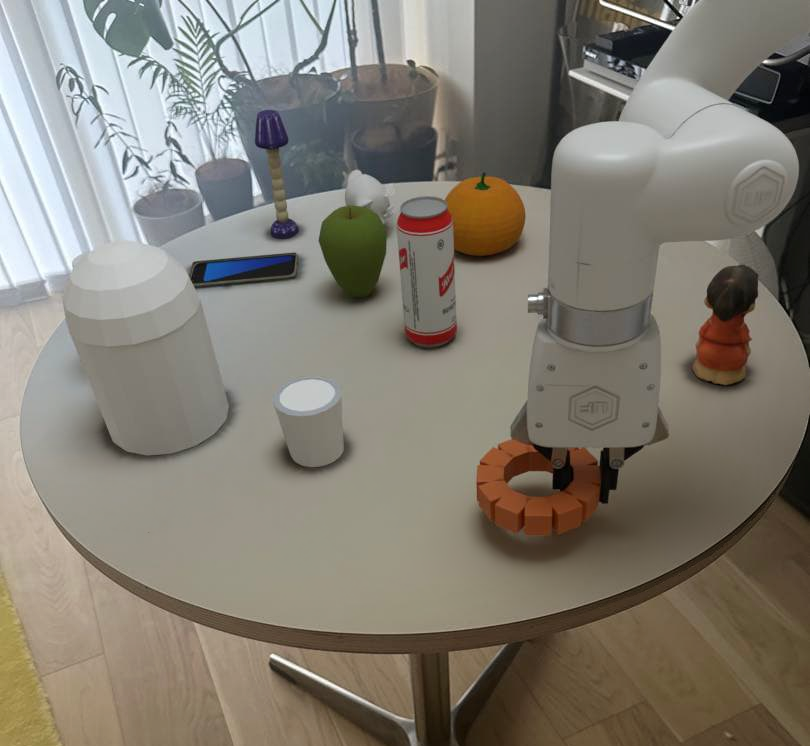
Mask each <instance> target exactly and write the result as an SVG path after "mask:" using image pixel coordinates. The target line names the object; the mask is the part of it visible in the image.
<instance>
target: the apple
mask: <svg viewBox="0 0 810 746" xmlns="http://www.w3.org/2000/svg"><path fill="white" fill-rule="evenodd" d="M387 238H388V231H387V229H386V227H385V224H384V225H383V223H382V220H381V219H380V217H379V216H378V215H377V214H376V213H375V212H373V211H372V210H370V209H368V208H365V207H360V206H346V205H345V206H340V207H338V208H337V209H334V210H333V211H332V212H331V213H329V215H327V216H326V217H325V219H323V220H322V222H321V226H320V230H319V234H318V244H319V247H320V249H321V252H322V255H323V259H324V262H325V264H326V266H327V268H328V270H329V271H330V273H331V276H332V277H333V279H334V282H335V283H336V285H337V286H338V287H339V288H340V289H341V290H343V291H344V292H345V293H346V294H347V295H348V296H351V297H352V298H353V297H354V298H366V297H368V296H369V295H371V294H372V293H373V290H374V289H375V287H376V285H377V284H378V282H379V280H380V276H381V273H382V270H383V266H384V263H385V258H386V255H387V244H388V243H387Z"/></svg>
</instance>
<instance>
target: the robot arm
mask: <svg viewBox="0 0 810 746" xmlns="http://www.w3.org/2000/svg"><path fill="white" fill-rule="evenodd" d="M807 34H810V0H698V1H697V2H695V3H694V4H693V5H692V7H691V8H689V10H688V11H687V12H686V13H685V15H683V17H682V18H681V19H680V20H679V22H678V23H677V24H676V25H675V27H674V28H673V29H672V31H671V32H670V34H669V35H668V37H667V38H666V40H665V41H664V42H663V44H662V45H661V47H660V48H659V50H658V51H657V52H656V54H655V56H654V57H653V59H652V60H651V62H650V63H649V65H648V66H647V68H646V69H645V71H644V72H643V74H642V75H641V77H640V78H639V80H638V81H637V83H636V85H635V86H634V87H633V89H632V91H631V92H630V95H629V97H628V99H627V101H626V103H625V104H624V106H623V109H622V111H621V113H620V116H619V117H618V118H619V119H618V121H617V120H613V121H601V122H600V121H599V122H595V123H589V124H586V125H583V126H579V127H577V128H574V129H573V130H571V131H569V132H568V133H567V134H566V135H564V137H562V139H561V140H560V141H559V143H558V144H557V146H556V147H555V150H554V152H553V156H552V163H551V178H550V179H551V180H550V205H549V206H550V209H549V210H550V211H549V237H548V238H549V239H548V241H549V242H548V269H547V271H548V272H547V273H548V274H547V287H543V291H542V292H541V291H540V292H539V291H538V292H537V294H536V293H535V294H534V293H533V294H527V314H537V316H539V315H540V316H541V317H540V318H539V320H538V323H537V327H536V330H535V335H534V339H533V344H532V349H531V356H530V362H529V371H528V382H527V399H526V401H525V402H524V404H523V406H522V407H521V408H520V410H519V412H518V413H517V415H516V416H515V419H514V420H513V421H512V422H511V425H510V438H511V439H514V440H516V441H519V442H521V443H524V444H526V445H531V446H533V447H534V449H535V450H537V451H538V452H539V453H540V454H542V455H543V456H544V457H546V458H547V459H548V460H549V461H551V466H552V467H553V474H552V478H551V479H552V480H551V481H552V485H551V486H552V491H553V490H554V491H556V490H559V492H562V491H564V490H565V489H566V488H567V487H568V486H569V485H570V474H571V466H570V450H568V448H579V449H580V448H586V449H589V448H590V449H591V448H593V449H595V448H596V449H597V448H598V449H599V448H602V449H601V450H600V455H599V465H600V472H601V490H600V500H599V503H601V504H602V505H609V498H610V497H609V496H610V491H617V489H618V480H619V471H620V469H622V468H623V467H624V466H625V461H627V460H628V459H629V458H631V457H633V456H634V455H635V454H637V453H638V452H640V451H641V450H643V449H644V447H646V446H651V445H653V444H657V443H658V442H661V441H664V440H666V439H668V438H669V436H670V433H669V432H670V431H669V426H668V423H667V420H666V418H665V417H664V415H663V413H662V411H661V408H660V407H659V403H660V389H661V376H662V374H661V373H662V343H661V333H660V332H661V331H660V327H659V325H658V323H657V319H656V318H655V316H654V314H652V313H651V311H652V304H653V298H654V289H655V282H656V274H657V267H658V260H659V253H660V246H661V245H662V244H666V243H681V242H684V243H685V242H711V241H713V242H714V241H725V240H731V239H736V238H739V237H743V236H746V235H749V234H751V233H754V232H756V231H757V230H760V229H761V228H763V227H765V226H766V225H768V224H770V223H771V222H773V221H774V220H775V218H777V217H778V216H779V215H780V214H781V213H782V211H783V210H784V209H785V208H786V206H788V204H789V203H790V201H791V199H792V198H793V196H794V193H795V192H796V191H795V190H796V188H797V184H798V181H799V174H800V164H799V158H798V154H797V152H796V149H795V147H794V145H793V143H792V142H791V141H790V140H789V138H788V137H787V136H786V135H785V134H784V132H782V130H780V129H779V128H777V127H776V126H775V125H773V124H772V123H770V122H769V121H766V120H765V119H763V118H760V116H757V115H755V114H754V113H751V112H749V111H747V110H745V109H743V108H742V107H740V106H738V105H737V104H735V103H733V102H731V101H729V100H730V99H731V97H732V96H733V95H734V93H735V92H736V91H737V90H738V88H739V87H740V86H741V84H742V83H744V82H745V80H746V79H747V78H748V77H749V76H750V75H751V74H752V73H753V72H754V71H755V70H756V69H757V68H758V67H759V66H760V65H761V64H762V63H763V62H765V61H766V60H767V59H768V58H769V57H770V56H772V55H773V54H775V53H776V52H778V51H780V49H782V48H783V47H785V46H787V45H788V44H790V43H792V42H794V41H795V40H797V39H799V38H801V37H803V36H805V35H807Z"/></svg>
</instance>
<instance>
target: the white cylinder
mask: <svg viewBox="0 0 810 746" xmlns="http://www.w3.org/2000/svg"><path fill="white" fill-rule="evenodd" d="M272 397H273V398H272V403H273V407H274V410H275V413H276V416H277V420H278V422H279V425H280V428H281V431H282V434H283V437H284V440H285V442H286V443H285V444H286V447H287V449H288V452H289V455H290V457H291V459H292V460H293V461H294V462H295V463H296V464H298V465H300V466H302V467H306V468H317V467H319V468H320V467H324V466H328V465H331V464H333V463H334V462H336V461H337V460H338V459H340V458H341V456H342V455H343V453H344V451H345V447H344V446H345V445H344V424H343V423H344V420H343V398H342V397H343V396H342V387H341V386H340V384H338V382H337V381H336V380H335V379H331V378H330V377H327V376H320V375H309V376H308V375H307V376H299V377H297V378H294V379H290V380H288V381H287V382H285V383H284V384H282V385H280V386H279V387H278V388H277V389H276V391H275V392H274V393H273V396H272Z"/></svg>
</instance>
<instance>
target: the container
mask: <svg viewBox="0 0 810 746" xmlns="http://www.w3.org/2000/svg"><path fill="white" fill-rule="evenodd" d="M90 251H91V252H89V251H88V252H89V253H88V254H87V255H86V256H85V257H84V258H83V259H82V260H80V261H79V262H78V263H77V264H76V265H75V266H74V268H73V267H72V270H71V271H70V273H69V275H68V279H67V282H66V285H65V288H64V291H63V295H62V298H61V300H62V304H63V305H62V306H63V311H64V318H65V323H66V326H67V329H68V333H69V335H70V337H71V340H72V343H73V345H74V348H75V350H76V353H77V355H78V357H79V360H80V363H81V366H82V368H83V370H84V373H85V375H86V377H87V381H88V383H89V385H90V388H91V390H92V392H93V396H94V398H95V400H96V403H97V406H98V408H99V411H100V413H101V415H102V417H103V420H104V423H105V425H106V428H107V430H108V434H109V436H110V438H111V441H112V442H113V443H114V444H115V445H116V446H118V447H119V448H121V449H122V450H123V451H125V452H127V453H132V454H137V455H142V456H147V457H148V456H159V455H160V456H161V455H172V454H175V453H179V452H181V451H184V450H187V449H190V448H194V447H196V446H198V445H199V444H201V443H202V442H204V441H206V440H207V439H209V438H211V437H212V436H214V435H215V434H216V433H217V432H218V431H219V429H220V428H221V427H222V426H224V423H225V422H226V421H227V418H228V412H229V407H230V405H229V401H228V398H227V394H226V390H225V386H224V383H223V379H222V374H221V371H220V368H219V363H218V360H217V356H216V353H215V348H214V345H213V342H212V337H211V334H210V330H209V327H208V322H207V319H206V315H205V311H204V307H203V303H202V300H201V297H200V295H199V293H198V291H197V290H196V288H195V286H193V284H192V282H191V280H190V278H189V273H187V270H186V269H185V267H184V266H183V265H182V264H181V263H180V262H179V261H177V260H176V259H175V258H174V257H172V256H171V255H170V254H169V253H167V252H166V251H165V250H163V249H162V248H159V247H157V246H155V245H152V244H147V243H143V242H139V241H135V240H128V239H121V240H114V241H110V242H106V243H103V244H100V245H98V246H96V247H95V248H93V249H92V250H90Z"/></svg>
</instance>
